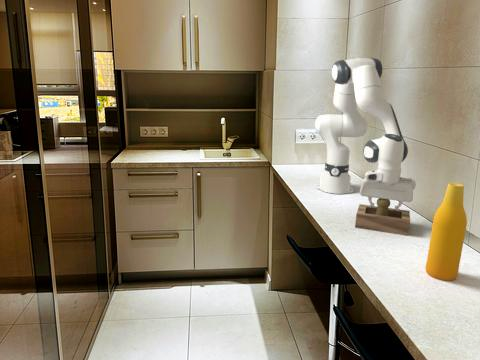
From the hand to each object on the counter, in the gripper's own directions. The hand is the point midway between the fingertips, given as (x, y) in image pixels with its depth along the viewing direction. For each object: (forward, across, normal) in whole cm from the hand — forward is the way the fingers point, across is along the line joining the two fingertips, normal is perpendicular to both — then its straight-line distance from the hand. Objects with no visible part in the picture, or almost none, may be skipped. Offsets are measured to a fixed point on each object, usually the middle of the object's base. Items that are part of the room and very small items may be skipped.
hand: (384, 209), depth 178 cm
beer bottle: (+7, -19, +39) cm, 44 cm away
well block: (+7, 0, 0) cm, 7 cm away
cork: (+7, 0, 0) cm, 7 cm away
